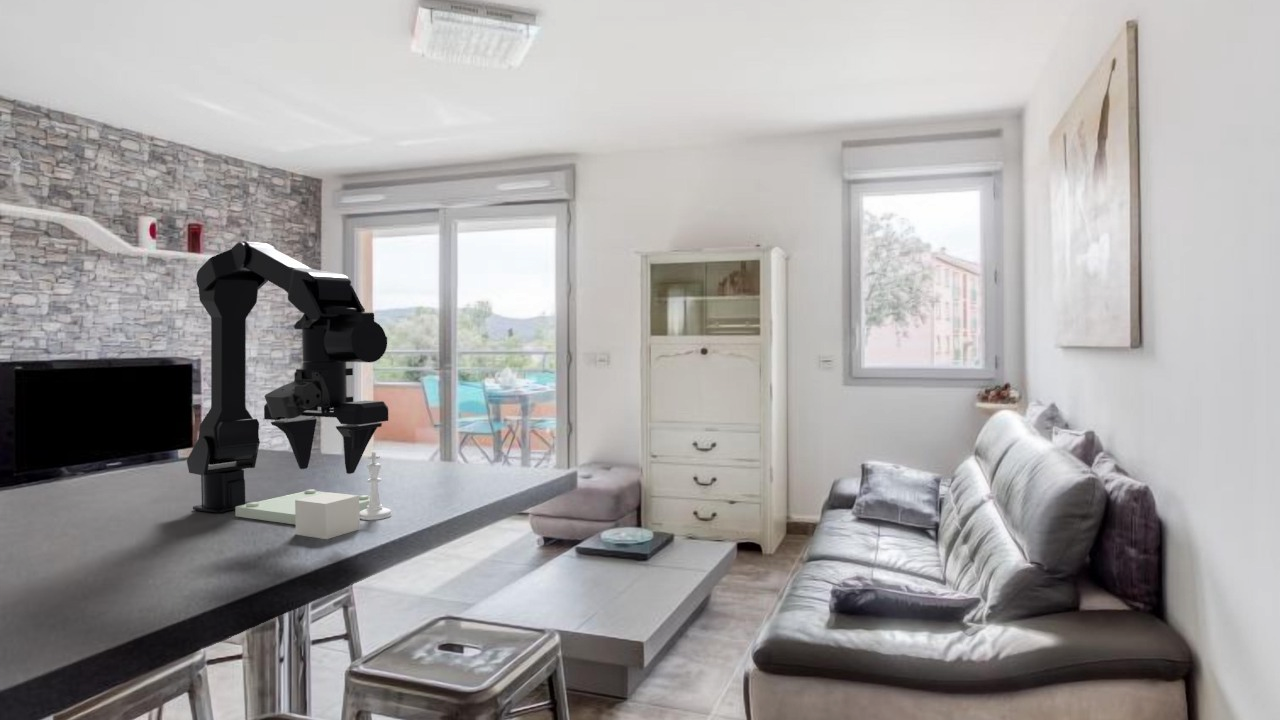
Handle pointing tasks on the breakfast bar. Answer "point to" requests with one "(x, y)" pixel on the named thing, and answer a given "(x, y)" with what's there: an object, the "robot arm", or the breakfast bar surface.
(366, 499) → the baseplate
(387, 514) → the chess piece
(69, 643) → the breakfast bar surface
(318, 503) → the brick
